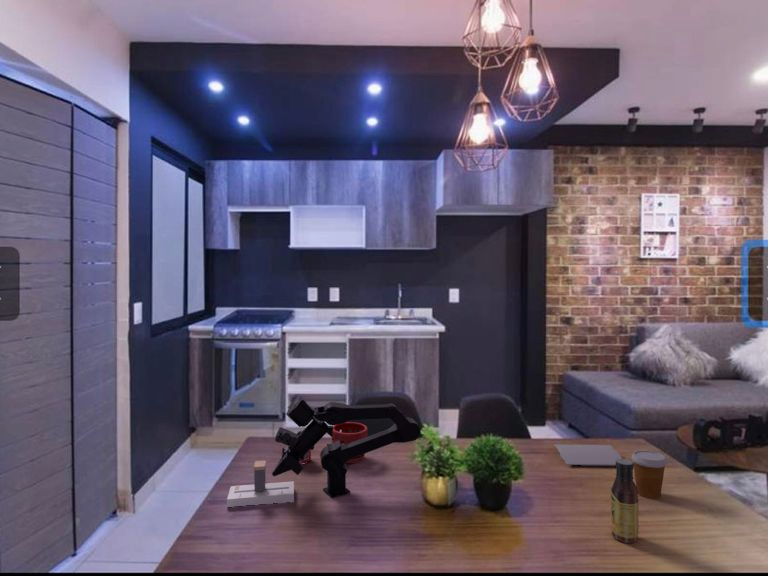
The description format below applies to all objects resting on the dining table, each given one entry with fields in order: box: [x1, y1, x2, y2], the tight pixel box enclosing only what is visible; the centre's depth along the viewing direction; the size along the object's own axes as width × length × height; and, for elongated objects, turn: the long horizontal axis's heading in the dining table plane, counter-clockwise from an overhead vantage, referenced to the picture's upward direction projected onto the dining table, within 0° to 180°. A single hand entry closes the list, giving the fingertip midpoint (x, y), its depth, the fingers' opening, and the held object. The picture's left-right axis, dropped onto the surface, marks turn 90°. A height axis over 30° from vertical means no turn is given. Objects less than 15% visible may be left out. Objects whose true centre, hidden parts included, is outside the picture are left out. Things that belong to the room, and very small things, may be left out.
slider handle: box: [253, 460, 267, 492], centre depth 146 cm, size 3×5×8 cm
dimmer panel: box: [226, 481, 295, 508], centre depth 146 cm, size 19×9×3 cm, turn 100°
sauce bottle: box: [610, 458, 639, 544], centre depth 123 cm, size 6×6×20 cm
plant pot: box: [331, 421, 368, 464], centre depth 177 cm, size 13×13×12 cm
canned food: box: [290, 427, 312, 463], centre depth 176 cm, size 8×8×11 cm
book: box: [553, 443, 623, 467], centre depth 176 cm, size 15×23×4 cm, turn 88°
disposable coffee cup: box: [630, 449, 668, 500], centre depth 148 cm, size 10×10×12 cm
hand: (272, 475), depth 147 cm, fingers closed
